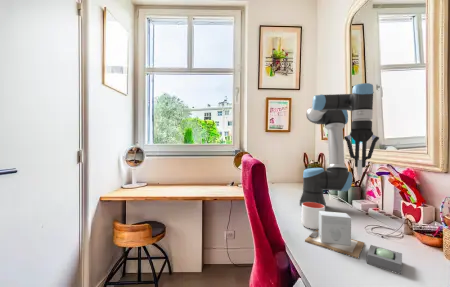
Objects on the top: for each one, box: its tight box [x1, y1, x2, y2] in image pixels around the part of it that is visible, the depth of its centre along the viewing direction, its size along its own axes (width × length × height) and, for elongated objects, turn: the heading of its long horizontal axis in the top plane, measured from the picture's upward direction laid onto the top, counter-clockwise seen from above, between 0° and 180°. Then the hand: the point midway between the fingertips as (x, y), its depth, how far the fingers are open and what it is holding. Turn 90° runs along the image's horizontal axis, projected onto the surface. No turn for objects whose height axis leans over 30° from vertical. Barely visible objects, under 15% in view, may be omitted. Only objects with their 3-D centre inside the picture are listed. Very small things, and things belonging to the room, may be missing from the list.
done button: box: [376, 247, 393, 260], centre depth 70 cm, size 4×4×3 cm
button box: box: [366, 244, 403, 275], centre depth 70 cm, size 9×9×3 cm
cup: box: [300, 202, 326, 230], centre depth 99 cm, size 10×10×10 cm
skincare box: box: [319, 210, 352, 246], centre depth 83 cm, size 10×6×10 cm, turn 76°
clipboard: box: [304, 229, 365, 259], centre depth 83 cm, size 18×14×1 cm
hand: (359, 174), depth 92 cm, fingers closed
